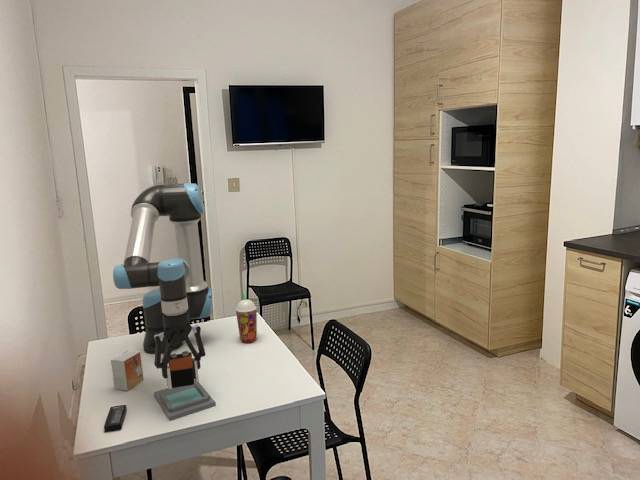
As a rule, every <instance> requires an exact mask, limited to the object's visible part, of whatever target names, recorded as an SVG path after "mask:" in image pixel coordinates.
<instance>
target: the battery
mask: <svg viewBox="0 0 640 480" xmlns="http://www.w3.org/2000/svg"><path fill="white" fill-rule="evenodd" d="M189 351H190V350H189ZM189 351H187V350H185V351H182V352H181V353H171V355H170V358H169V362H168V367H169V368H170V376H171V385H172V388H177V387H183V386H190V385H194V380H195V379H194V370H193V360H192V358H193V354H192V352H191V351H190V352H189Z"/></svg>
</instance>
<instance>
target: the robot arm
mask: <svg viewBox="0 0 640 480" xmlns="http://www.w3.org/2000/svg"><path fill="white" fill-rule="evenodd" d="M203 214H205V206H204V200H203V195H202V191H201V189H200V186H199V185H198V184H197V183H186V182H184V183H172V184H156V185H153V186H152V185H151V186H150V187H148V188H146V189H145V190H143V191H142V192H140V194H139V195H138V196H136V198H135V199H134V201H133V203H132V206H131V209H130V217H131V219H132V220H131V223H130V224H131V225H130V230H129V235H128V240H127V243H126V244H127V245H126V250H125V255H124V259H123V260H124V261H123V264H118V265H115V267H114V268H113V272H112V279H113V283H114V287H115V288H116V289H118V290H131V289H140V288H151V287H152V288H153V287H159V288H155V289H152V290H149V291H148V292H146V293H145V294H143V296H142V308H143V316H144V317H143V318H144V325H145V335H144V338H143V343H142V346H143V351H144V353H146V354H150V355H151V354H152V355H154V363H153V364H154V366H155V368H156V369H161V376H162V378H163V379H164V380H165V381H166V387H167V388H169V389H172V385H171V376H170V368H169V364H168V362H169V358H170V355H171V354H172V352H174V351H176V350H178V349H180V348H181V347H182V346H183V344H184V343H185V344H186V345H187V347H188V349H189V351H190V352H191V353H192V360H193V370H194V380H196V381H198V382H199V380H200V378H199V371H198V370H200V369H201V360H202V357H205V356H206V350H205V346H204V343H203V339H202V335H201V326H200V325H199V324H195V325H192V324H191V323H190V321H191V320H196V319H198V320H200V319H205V318H209V317H211V313H212V303H213V302H212V301H213V288H212V287H209V284H208V283H207V282H206V281H205V280H204V272H203V263H202V254H201V252H202V251H201V246H200V245H201V244H200V242H201V241H200V234H199V225H198V223H199V221H200V220H201V219H202V215H203ZM160 217H169V222H170V223H172V224H173V226H174V232H175V234H174V235H175V243H176V249H177V258H172V259H167V260H163V261H156V262H155V261H154V262H150V261H151V260H150V259H151V253H152V252H151V251H152V244H153V237H154V232H155V231H154V230H155V223H156V222H157V221H158V220H159V218H160ZM191 332H193V333H194V339H195V342H196V345H197V349H198V351H197V349H196V348H195V346H194V345H193V343H192V341H191V339H190V338H189V335H190V334H191ZM162 354H163V355H162Z"/></svg>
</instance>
